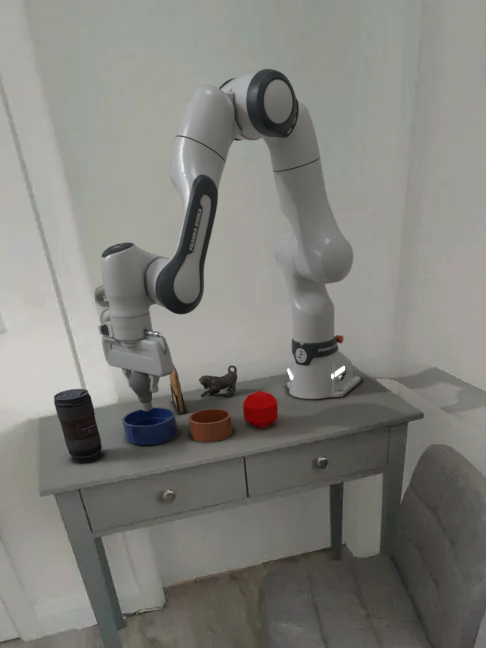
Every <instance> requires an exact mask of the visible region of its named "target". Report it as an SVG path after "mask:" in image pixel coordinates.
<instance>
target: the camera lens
mask: <svg viewBox="0 0 486 648" xmlns="http://www.w3.org/2000/svg"><path fill="white" fill-rule="evenodd" d="M53 399H54V400H53V404H54V407H55V411H56V415H57V418H58V421H59V423H60V427H61V430H62V433H63V439H64V442H65V446H66V448H67V451H68V454H69V455H70V456H71V458H72V459H71V460H72V461H73V462H75V463H77V464H86V463H92V462H95V461H97V460H99V459H100V458H101V457H102V449H103V446H102V439H101V435H100V432H99V428H98V424H97V419H96V413H95V408H94V404H93V401H92V396H91V394H90V393H89V390H88V389H85V388H71V389H67V390H63V391H60V392H57V393H56V394H55V395H54V396H53Z"/></svg>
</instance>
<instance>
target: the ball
mask: <svg viewBox="0 0 486 648" xmlns="http://www.w3.org/2000/svg"><path fill="white" fill-rule="evenodd" d="M242 403H243V404H242V410H243V421H245V422H246V423H248V424H249V425H250V426H252V427H255V428H258V429H261V430H262V429H264V428H266V427H269V426H272V425H273V424H274V422H276V420H277V419H278V418H279V410H278V399H277V398H276V397H275V396H274V395H272V394H271V392H270V393H269V392H267V391H262V390H258V391H256V392H252V393H249V394H247V396H246V398H244V400H243V402H242Z"/></svg>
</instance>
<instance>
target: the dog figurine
mask: <svg viewBox="0 0 486 648" xmlns="http://www.w3.org/2000/svg"><path fill="white" fill-rule="evenodd" d="M231 368H233V371H232V370H231ZM198 382H199V384H200V385H201V386H203V389H204V390H205V391H203V393H201V394H200V398H202V399H203V398H205V397H206V396H207V395H208V396H213V395H217V394H220V392H221V391H222V390H226V391H228V392H226V394H225V396H226V397H230V396H232V395H233V394H235V392H237V386H236V384H237V382H238V369H237V366H235V365H229V366H228V367H227V373H226V374H224V375H222V376H217V375H207V374H206V375H201V377H200V378H199V379H198Z"/></svg>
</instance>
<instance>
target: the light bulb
mask: <svg viewBox="0 0 486 648" xmlns="http://www.w3.org/2000/svg"><path fill="white" fill-rule="evenodd" d="M129 383H130V386H131V387H130V388H131V390H132V391H133V393H134V394H135V395H136V397H137V399H138V401H139V402H140V407H141V409H142V410H143V411H146V412H148V411H150V410H152V409H153V404H152V403H153V402H152V400H153V393H152V392H149V388H148V385H150V383H151V379H150V378H149V374H146V373H141V372H137V371H132V374H131V375H130V379H129Z"/></svg>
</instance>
